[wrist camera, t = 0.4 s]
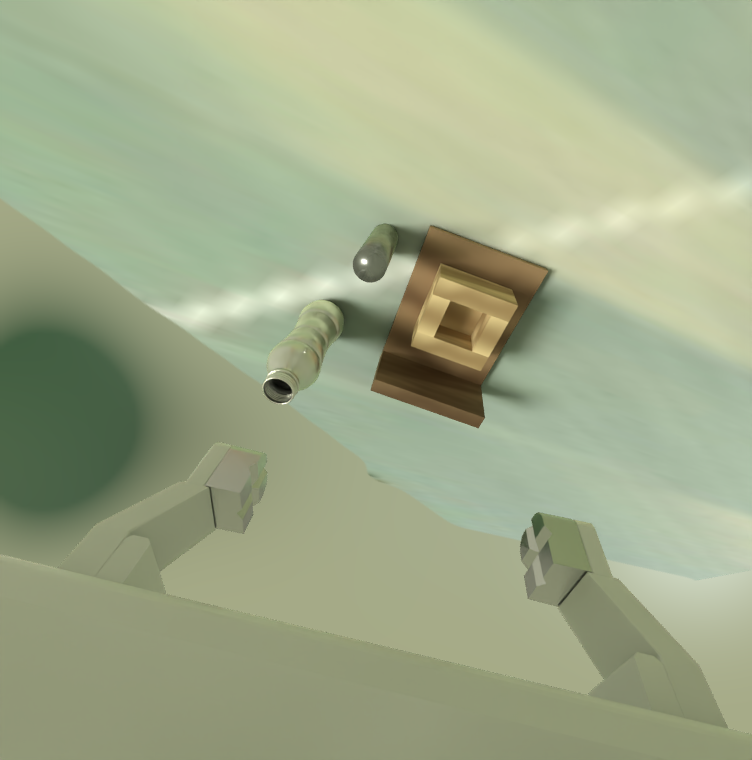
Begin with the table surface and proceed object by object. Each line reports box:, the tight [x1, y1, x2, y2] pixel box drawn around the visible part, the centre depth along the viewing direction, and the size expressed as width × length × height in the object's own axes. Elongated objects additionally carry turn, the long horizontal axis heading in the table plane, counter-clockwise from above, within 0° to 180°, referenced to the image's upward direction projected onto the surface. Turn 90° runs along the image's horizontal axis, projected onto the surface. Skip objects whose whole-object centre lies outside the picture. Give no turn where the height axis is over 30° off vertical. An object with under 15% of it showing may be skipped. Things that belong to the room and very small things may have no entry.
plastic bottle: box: [262, 300, 344, 405], centre depth 51 cm, size 6×7×20 cm
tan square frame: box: [411, 264, 518, 371], centre depth 52 cm, size 10×10×6 cm
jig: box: [371, 225, 548, 428], centre depth 52 cm, size 21×16×9 cm
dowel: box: [353, 224, 398, 282], centre depth 47 cm, size 4×4×12 cm
